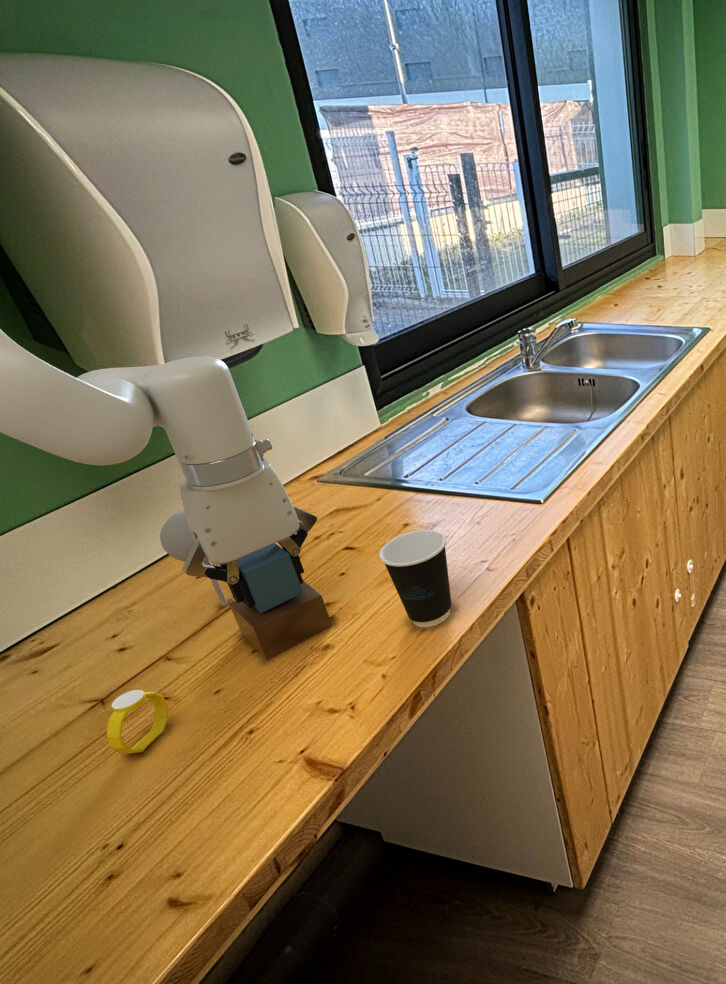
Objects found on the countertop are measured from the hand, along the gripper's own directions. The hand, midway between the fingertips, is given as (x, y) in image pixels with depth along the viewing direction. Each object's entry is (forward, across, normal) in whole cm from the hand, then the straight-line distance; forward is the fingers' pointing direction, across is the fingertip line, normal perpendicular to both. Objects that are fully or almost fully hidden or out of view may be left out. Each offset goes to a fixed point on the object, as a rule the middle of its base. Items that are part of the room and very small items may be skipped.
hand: (272, 590), depth 88 cm
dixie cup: (+7, -13, +13) cm, 20 cm away
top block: (+1, 0, 0) cm, 1 cm away
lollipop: (+7, +3, -13) cm, 15 cm away
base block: (+6, 0, 0) cm, 6 cm away
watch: (+7, +17, +7) cm, 20 cm away
